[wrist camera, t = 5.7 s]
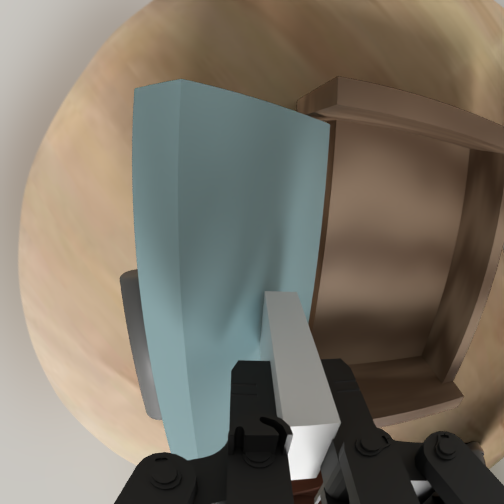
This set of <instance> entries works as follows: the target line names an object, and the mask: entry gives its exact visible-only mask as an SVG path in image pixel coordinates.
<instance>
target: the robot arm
mask: <svg viewBox="0 0 504 504" xmlns="http://www.w3.org/2000/svg"><path fill="white" fill-rule="evenodd" d="M260 357H261V361H250V360H238V361H237V363H236V364H235V366H234V367H233V369H232V370H231V391H230V424H229V433H228V440H227V442H226V444H225V446H224V447H223V448H222V449H221V450H220V451H218V452H216V453H215V454H213V455H210V456H207V457H203V458H198V459H192V460H186V459H185V458H183V457H181V456H179V455H177V454H172V453H166V452H163V453H155V454H152V455H150V456H148V457H145V458H144V459H143V460H142V461H141V462H140V463H139V464H138V465H137V466H136V468H135V470H134V471H133V473H132V475H131V476H130V478H129V480H128V481H127V483H126V485H125V487H124V488H123V490H122V492H121V493H120V495H119V496H118V498H117V500H116V501H115V503H114V504H294V499H293V491H292V483H291V480H299V479H310V478H317V476H318V474H319V472H320V469H321V474H322V478H323V484H322V486H321V487H320V489H319V491H318V493H317V495H316V496H315V498H314V504H318V503H319V501H320V500H321V502H322V504H504V486H503V484H501V482H500V481H499V480H498V479H497V478H496V477H495V476H494V475H493V473H492V472H491V471H490V470H489V469H488V468H487V467H486V464H485V460H484V457H483V455H484V451H483V449H482V447H481V446H480V444H479V443H478V442H471V443H468V444H465V443H464V442H463V441H462V440H461V439H460V438H459V437H457V436H456V435H455V434H452V433H449V432H444V431H438V432H436V433H433V434H431V435H430V436H429V437H427V438H426V440H425V441H424V443H414V442H401V441H395V440H393V439H392V438H391V437H390V435H389V434H388V433H386V432H385V431H383V430H382V429H380V428H377V427H376V425H375V424H374V421H373V419H372V416H371V414H370V411H369V409H368V407H367V404H366V402H365V400H364V397H363V395H362V393H361V391H360V388H359V386H358V383H357V382H356V379H355V376H354V374H353V372H352V370H351V368H350V367H349V366H348V365H347V364H346V363H345V362H344V361H343V360H342V359H341V358H338V359H320V357H319V354H318V351H317V348H316V346H315V343H314V340H313V337H312V334H311V331H310V328H309V325H308V322H307V319H306V316H305V314H304V311H303V308H302V305H301V302H300V299H299V297H298V294H297V292H280V291H278V292H277V291H265V293H264V304H263V316H262V327H261V338H260Z"/></svg>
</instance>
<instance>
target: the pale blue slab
mask: <svg viewBox="0 0 504 504" xmlns="http://www.w3.org/2000/svg"><path fill="white" fill-rule="evenodd" d="M329 133H330V124H328V123H326V122H323V121H321V120H318V119H315V118H313V117H310V116H307V115H305V114H302V113H299V112H296V111H294V110H291V109H288V108H285V107H282V106H279V105H276V104H273V103H270V102H267V101H263V100H260V99H257V98H254V97H250V96H247V95H244V94H240V93H237V92H233V91H229V90H226V89H222V88H218V87H214V86H210V85H206V84H202V83H198V82H193V81H189V80H184V79H178V80H173V81H167V82H162V83H158V84H153V85H148V86H144V87H139V88H135V90H134V107H133V136H132V182H133V212H134V230H135V244H136V257H137V268H138V269H136V270H131V271H128V272H125V273H124V274H122V275H121V276H120V285H121V292H122V299H123V305H124V312H125V318H126V323H127V329H128V334H129V340H130V345H131V350H132V355H133V359H134V364H135V369H136V373H137V377H138V381H139V386H140V390H141V394H142V398H143V401H144V405H145V409H146V412H147V414H148V416H150V417H151V418H153V419H156V420H163V424H164V428H165V432H166V436H167V440H168V444H169V447H170V451H171V453H172V454H177V455H179V456H181V457H183V458H185V459H186V460H192V459H198V458H203V457H207V456H210V455H213V454H215V453H216V452H218V451H220V450H221V449H222V448H223V447H224V446H225V444H226V442H227V440H228V433H229V424H230V391H231V370H232V369H233V367H234V366H235V364H236V363H237V361H238V360H250V361H261V357H260V338H261V327H262V316H263V304H264V293H265V291H277V292H278V291H280V292H297V294H298V297H299V299H300V302H301V305H302V308H303V311H304V314H305V316H306V319H307V322H308V323H309V317H310V310H311V303H312V297H313V290H314V283H315V275H316V268H317V260H318V252H319V244H320V235H321V226H322V217H323V207H324V197H325V186H326V175H327V162H328V149H329Z"/></svg>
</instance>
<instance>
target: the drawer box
mask: <svg viewBox="0 0 504 504" xmlns="http://www.w3.org/2000/svg"><path fill="white" fill-rule="evenodd" d="M297 112H299V113H302V114H305V115H307V116H310V117H313V118H315V119H318V120H321V121H327V123H328V124H330V133H329V149H328V162H327V175H326V186H325V197H324V207H323V217H322V226H321V235H320V244H319V252H318V260H317V268H316V275H315V283H314V290H313V297H312V303H311V310H310V317H309V323H308V325H309V328H310V331H311V334H312V337H313V340H314V343H315V346H316V348H317V351H318V354H319V357H320V359H338V358H341V359H342V360H343V361H344V362H345V363H346V364H347V365H348V366H349V367H350V368H351V370H352V372H353V374H354V376H355V379H356V382H357V383H358V386H359V388H360V391H361V393H362V395H363V397H364V400H365V402H366V404H367V407H368V409H369V411H370V414H371V416H372V419H373V421H374V424H375V425H376V427H377V428H380V427H385V426H390V425H394V424H399V423H403V422H407V421H411V420H415V419H419V418H423V417H426V416H430V415H433V414H437V413H440V412H444V411H447V410H450V409H453V408H456V407H458V406H459V405H460V403H461V401H462V399H463V398H464V395H463V394H462V393H461V391H460V390H459V389H458V387H457V386H456V385H455V383H454V382H453V380H454V378H455V376H456V374H457V372H458V370H459V368H460V366H461V363H462V361H463V359H464V357H465V355H466V353H467V350H468V348H469V346H470V343H471V341H472V339H473V336H474V334H475V331H476V329H477V326H478V324H479V321H480V319H481V316H482V313H483V310H484V308H485V305H486V302H487V299H488V296H489V293H490V290H491V287H492V283H493V280H494V277H495V273H496V270H497V266H498V263H499V259H500V255H501V251H502V247H503V243H504V126H501V125H499V124H497V123H495V122H492V121H490V120H488V119H485V118H483V117H480V116H478V115H475V114H473V113H470V112H468V111H465V110H462V109H460V108H457V107H454V106H451V105H448V104H446V103H443V102H440V101H437V100H433V99H430V98H427V97H424V96H421V95H417V94H414V93H410V92H407V91H403V90H399V89H395V88H391V87H387V86H383V85H379V84H375V83H370V82H365V81H361V80H356V79H350V78H345V77H339V76H338V77H336V78H334V79H332V80H331V81H329V82H327V83H325V84H324V85H322V86H320V87H319V88H317V89H315V90H313V91H312V92H310V93H309V94H307V95H305V96H304V97H302V98H300V99H299V100H297Z"/></svg>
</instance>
